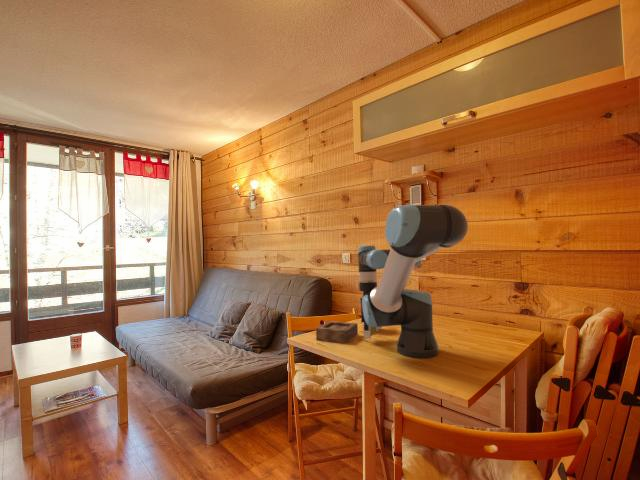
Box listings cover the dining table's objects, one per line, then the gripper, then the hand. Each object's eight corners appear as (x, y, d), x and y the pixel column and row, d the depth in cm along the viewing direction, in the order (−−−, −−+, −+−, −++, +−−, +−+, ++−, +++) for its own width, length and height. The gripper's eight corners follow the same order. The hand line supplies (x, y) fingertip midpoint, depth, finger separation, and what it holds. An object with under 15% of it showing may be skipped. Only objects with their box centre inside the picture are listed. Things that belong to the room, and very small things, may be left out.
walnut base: (357, 334, 149) (357, 323, 149) (346, 343, 137) (345, 331, 137) (330, 331, 155) (329, 320, 155) (316, 339, 143) (316, 328, 143)
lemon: (360, 337, 139) (360, 318, 139) (369, 334, 143) (368, 316, 143) (370, 339, 135) (369, 319, 135) (379, 336, 138) (378, 317, 139)
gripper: (366, 279, 149) (368, 330, 149) (351, 283, 133) (353, 341, 132) (382, 279, 146) (384, 331, 145) (369, 283, 130) (371, 342, 129)
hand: (369, 336), depth 139 cm, fingers closed on lemon, 5 cm apart
